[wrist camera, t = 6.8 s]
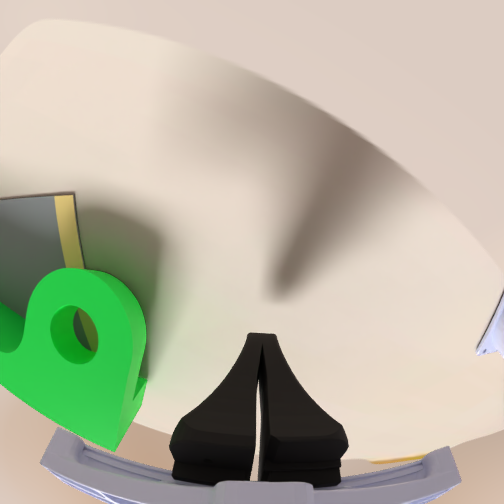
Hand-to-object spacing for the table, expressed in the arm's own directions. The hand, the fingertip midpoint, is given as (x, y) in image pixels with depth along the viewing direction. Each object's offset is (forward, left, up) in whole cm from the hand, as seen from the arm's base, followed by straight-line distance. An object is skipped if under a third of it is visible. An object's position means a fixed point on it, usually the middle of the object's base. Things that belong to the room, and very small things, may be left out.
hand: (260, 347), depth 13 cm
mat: (+18, 0, -2) cm, 18 cm away
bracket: (+17, 0, -2) cm, 17 cm away
